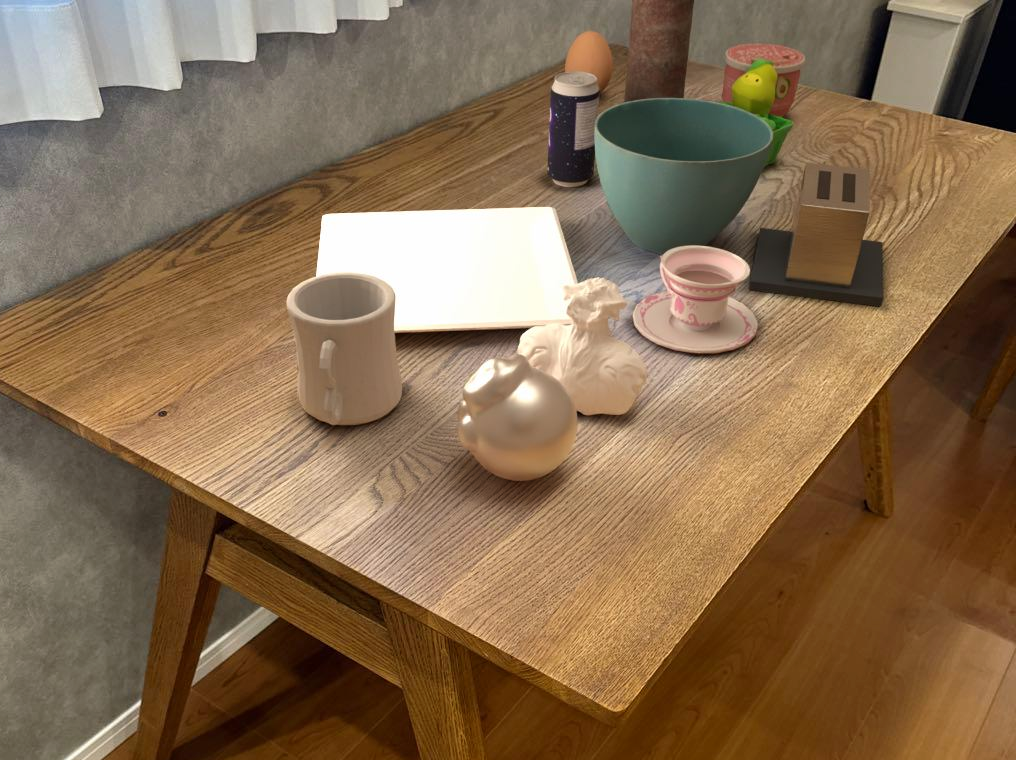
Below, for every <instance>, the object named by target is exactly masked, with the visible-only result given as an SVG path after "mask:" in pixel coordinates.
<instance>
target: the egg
mask: <svg viewBox="0 0 1016 760" xmlns="http://www.w3.org/2000/svg"><path fill="white" fill-rule="evenodd" d="M613 65H614V61H613V54H612V52H611V48H610V46H609V44H608V41H607V40H606V39H605V37H604V36H603V35H601V34H600V32H597V31H595V30H594V31H593V30H588V31H584V32H583V33H581V34H579V35H578V36H577V37H576V38H575V39H574V41H573V42H572V44H571V46H570V48H569V50H568V52H567V55H566V58H565V64H564V72H575V71H577V72H586V73H590V74H593V75H595V76H596V77H597V84H598V87H599V89H600V95H601V94H602V93H603V92H604V91H605V90H606V89H607V87H608V85H609V84H610V82H611V79H612V76H613V69H614V68H613Z"/></svg>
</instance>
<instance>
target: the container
mask: <svg viewBox="0 0 1016 760" xmlns="http://www.w3.org/2000/svg"><path fill="white" fill-rule="evenodd" d="M758 59H764V60H766V61H772V62H773V63H774V64H773V67H774V69H775V71H776V73H777V81H776V85H775V98H774V102H773V105H772V107H771V109H770V111H769V114H772V115H775V116H778V117H781V118H784V116H785V115H786V114H788V113H789V111H790V110H791V107H792V106H793V104H794V101H795V98H796V94H797V90H798V85H799V81H800V77H801V69H802V68H804V66H805V62H806V56H805V55H804V53H802V52H801V51H800V50H797V49H795V48H792V47H788V46H784V45H779V44H773V43H772V44H771V43H745V44H738V45H735V46H732V47H730V48H728V49H727V50H726V51H725V54H724V62H725V63H726V64H725V67H724V73H723V84H722V85H723V86H722V92H721V93H722V94H721V99H722V102H729V103H733V99H732V85H733V84H734V83H735V81H736V80H737V79H738V78H739V77H741V76H742V75H744V74H745V73H746V70H747V69H749V68H750V66H751V65H752V64H753V63H754V62H755V61H756V60H758Z"/></svg>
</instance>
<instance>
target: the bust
mask: <svg viewBox="0 0 1016 760" xmlns="http://www.w3.org/2000/svg"><path fill="white" fill-rule="evenodd" d="M562 289H563V291H564V292H565V294H564V297H563V299H564V300H565V301H567V300H569V299H571V301H570V302H569V304H568V305H567V309H566V314H567V315H568V316H569V318H571V319H572V325H569V326H565V325H564V324H562V323H552V324H548V325H546V326H535V327H532V328H528V330H526V331H525V332H524V333H522V335H520V338H519V344H518V346H517V354H521V355H523V356H525V357H526V358H527V359H528V361H529V363H530V365H531V366H533V367H534V368H536V369H539V370H542V371H544V372H546V373H548V374H550V375H552V376H553V377H554V378H556V379H557V380H558V381H559V382H560V383H561V384H562V385H563V386H564V387H565V388H566V390H567V391H568V392H569V394H570V396H571V398H572V400H573V402H574V405H575V408H576V412H579V413H581V414H582V415H585V416H594V415H600V414H603V415H604V414H605V415H615V416H620V415H624V414H625V413H627V412H629V410H630V409H631V407H632V406H633V404H634V403H635V401H636V400H637V398H638V396H639V394H640V393H641V391H642V389H643V386H644V384H646V381H647V378H648V376H649V372H648V369H647V366H646V364H645V362H644V361H645V360H643V357H641V355H640V354H639V353H637V351H636V350H635V349H634V348H633V347H632V346H631V345H630V344H628V342H626V341H623V340H621V339H615V338H614V337H613V336H612V330H611V328H610V325H609V323H610V322H609V318H610V319H613V320H615V321H619V320H620V313H621V310H624V309H625V308H626V307H627V306H628V302H627V300H626V299H625V298H624V297H623V295H622V294H621V293H620V289H619V286H618V284H616V283H614V282H613V281H611V280H609V279H606V278H605V276H603V277H602V278H601V277H593V278H588V279H585V280H584V281H581V282H578V283H575V284H573V285H571V286H568V285H563V286H562Z"/></svg>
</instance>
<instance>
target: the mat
mask: <svg viewBox="0 0 1016 760" xmlns="http://www.w3.org/2000/svg"><path fill="white" fill-rule="evenodd" d="M790 235H791V230H783V229H775V228H774V229H773V228H766V227H759V230H758V236H757V243H756V246H755V254H754V258H753V262H752V268H751V272H750V280H749V284H748V290H749V291H756V292H764V293H772V294H779V295H788V296H796V297H804V298H810V299H817V300H826V301H832V302H833V301H835V302H842V303H850V304H858V305H866V306H873V307H882V305H883V301H884V259H883V258H884V257H883V254H884V253H883V241H878V240H871V239H870V240H869V239H863V240H862V244H861V248H860V251H859V255H858V259H857V263H856V267H855V270H854V274H853V278H852V282H851V286H850V288H842V287H834V286H826V285H818V284H810V283H802V282H794V281H786V280H785V273H786V266H787V258H788V251H789V243H790Z"/></svg>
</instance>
